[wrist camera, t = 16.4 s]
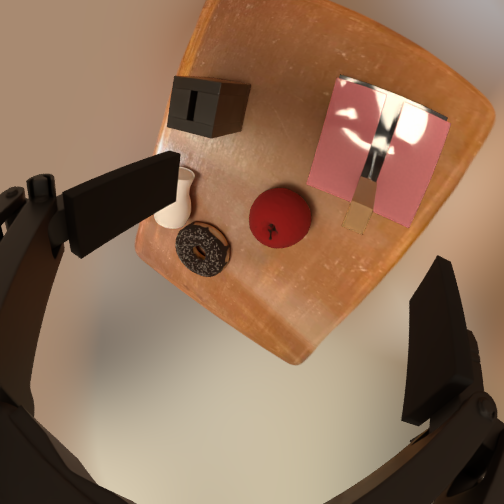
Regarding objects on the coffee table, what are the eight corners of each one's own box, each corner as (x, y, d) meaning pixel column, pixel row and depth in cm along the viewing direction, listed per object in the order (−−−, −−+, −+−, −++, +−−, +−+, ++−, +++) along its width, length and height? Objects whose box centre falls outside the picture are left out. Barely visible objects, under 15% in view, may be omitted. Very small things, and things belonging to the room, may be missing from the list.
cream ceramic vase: (177, 160, 53) (168, 204, 59) (152, 169, 47) (144, 217, 53) (207, 175, 51) (195, 220, 57) (183, 186, 46) (173, 235, 52)
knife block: (208, 77, 42) (174, 75, 35) (251, 84, 40) (221, 82, 33) (200, 120, 47) (166, 127, 40) (241, 131, 45) (211, 138, 38)
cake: (340, 74, 34) (330, 67, 28) (446, 117, 30) (461, 120, 24) (312, 173, 43) (296, 188, 37) (408, 214, 39) (412, 238, 33)
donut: (230, 277, 60) (220, 287, 57) (182, 259, 64) (171, 268, 61) (234, 229, 54) (223, 238, 51) (182, 213, 58) (169, 220, 55)
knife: (366, 159, 38) (352, 197, 23) (379, 164, 37) (374, 207, 22) (360, 178, 40) (340, 228, 25) (373, 183, 39) (361, 237, 24)
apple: (316, 183, 44) (298, 204, 36) (316, 237, 48) (298, 267, 40) (261, 180, 48) (231, 199, 40) (264, 231, 52) (238, 257, 44)
